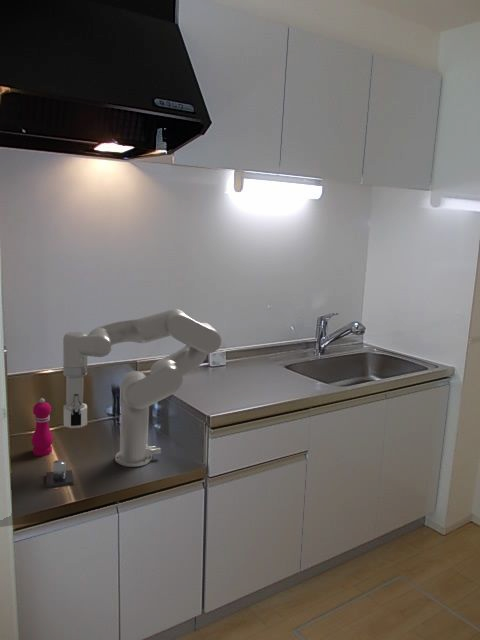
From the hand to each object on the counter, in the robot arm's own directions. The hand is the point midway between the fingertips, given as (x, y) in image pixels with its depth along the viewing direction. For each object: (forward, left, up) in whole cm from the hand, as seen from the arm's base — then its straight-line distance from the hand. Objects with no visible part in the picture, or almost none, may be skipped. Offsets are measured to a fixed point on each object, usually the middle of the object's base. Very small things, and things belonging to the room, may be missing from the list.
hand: (75, 420), depth 184 cm
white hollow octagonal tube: (0, 0, -1) cm, 1 cm away
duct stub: (+5, +10, -16) cm, 20 cm away
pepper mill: (+10, -11, -16) cm, 22 cm away
